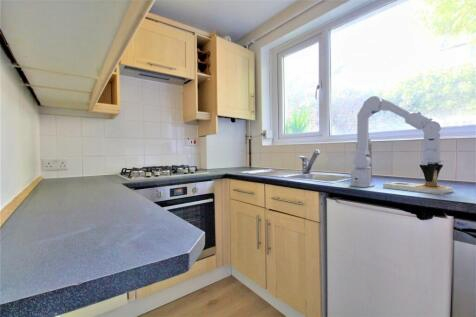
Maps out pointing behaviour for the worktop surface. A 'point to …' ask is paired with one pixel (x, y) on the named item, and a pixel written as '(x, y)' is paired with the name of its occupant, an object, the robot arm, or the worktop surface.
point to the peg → (434, 182)
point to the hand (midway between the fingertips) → (431, 181)
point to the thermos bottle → (370, 154)
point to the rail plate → (418, 187)
